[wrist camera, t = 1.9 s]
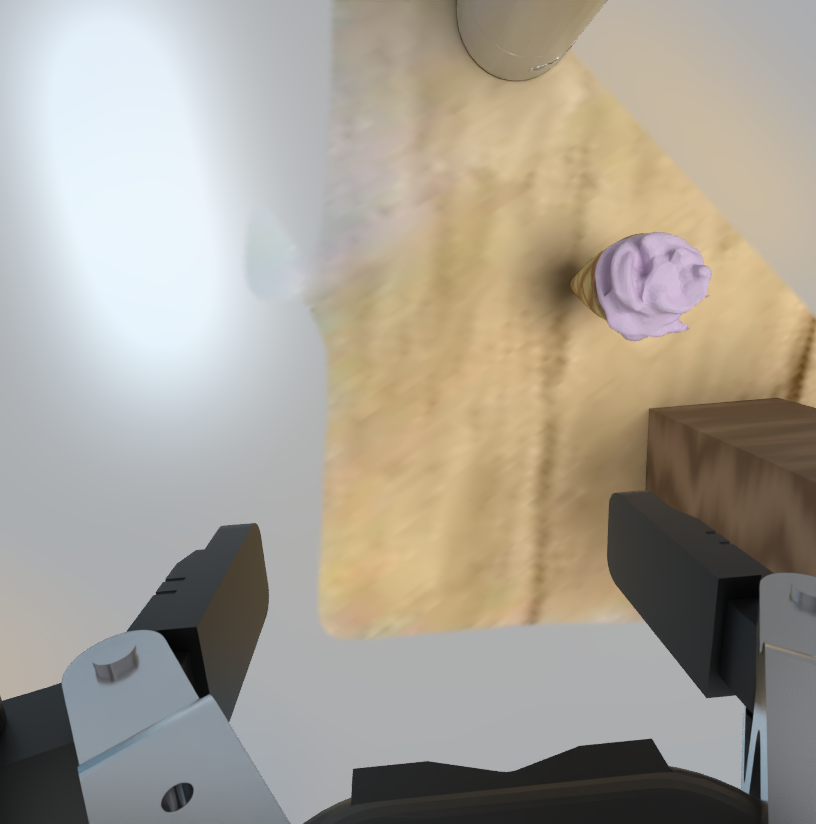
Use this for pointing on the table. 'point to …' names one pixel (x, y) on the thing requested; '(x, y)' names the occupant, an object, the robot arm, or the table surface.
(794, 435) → the plinth
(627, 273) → the ice cream cone
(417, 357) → the table surface
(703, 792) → the robot arm
